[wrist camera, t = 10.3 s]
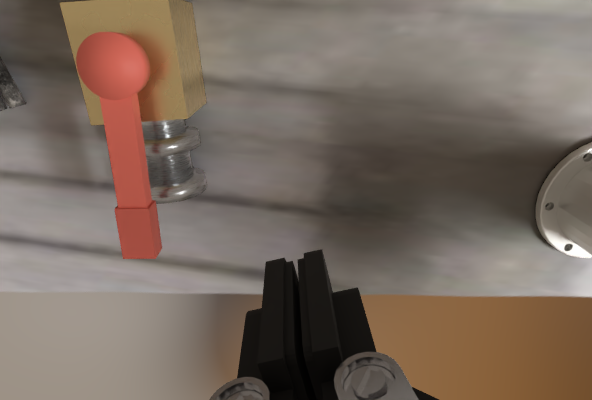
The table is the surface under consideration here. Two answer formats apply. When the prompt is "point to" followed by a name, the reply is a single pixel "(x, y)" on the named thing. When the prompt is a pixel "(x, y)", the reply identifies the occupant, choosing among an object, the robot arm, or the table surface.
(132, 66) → the lever
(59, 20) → the table surface
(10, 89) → the valve
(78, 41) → the ball valve
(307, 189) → the table surface
